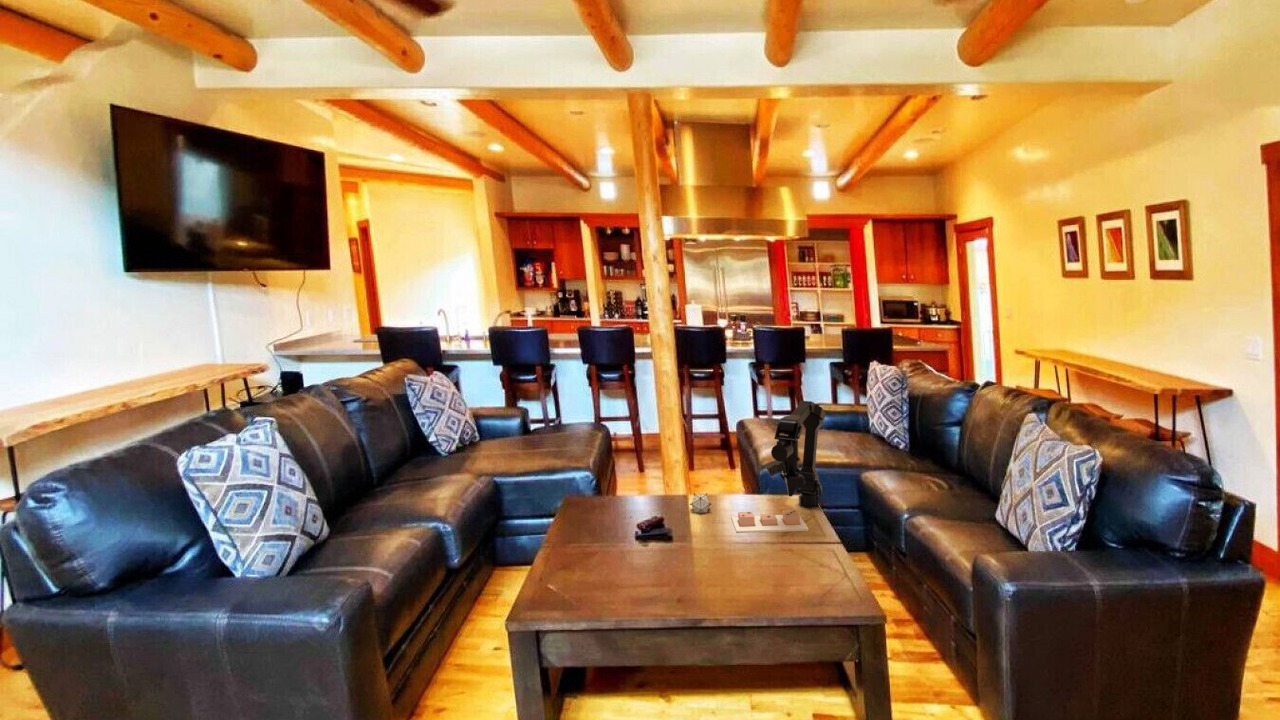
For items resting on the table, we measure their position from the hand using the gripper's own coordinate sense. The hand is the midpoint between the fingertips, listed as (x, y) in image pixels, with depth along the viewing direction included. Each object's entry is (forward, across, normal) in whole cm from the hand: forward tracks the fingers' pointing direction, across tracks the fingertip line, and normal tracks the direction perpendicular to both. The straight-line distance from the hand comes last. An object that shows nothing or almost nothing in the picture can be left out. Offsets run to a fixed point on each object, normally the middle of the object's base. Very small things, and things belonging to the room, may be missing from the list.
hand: (790, 496), depth 215 cm
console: (+12, 0, -8) cm, 14 cm away
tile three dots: (+10, 0, 0) cm, 10 cm away
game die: (+12, -14, -31) cm, 36 cm away
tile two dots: (+10, 0, -16) cm, 19 cm away
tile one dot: (+11, 0, -8) cm, 14 cm away
